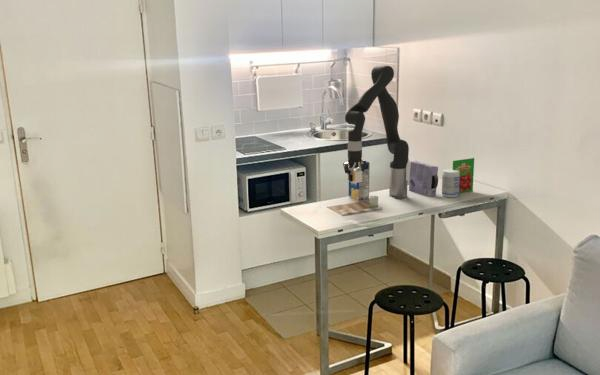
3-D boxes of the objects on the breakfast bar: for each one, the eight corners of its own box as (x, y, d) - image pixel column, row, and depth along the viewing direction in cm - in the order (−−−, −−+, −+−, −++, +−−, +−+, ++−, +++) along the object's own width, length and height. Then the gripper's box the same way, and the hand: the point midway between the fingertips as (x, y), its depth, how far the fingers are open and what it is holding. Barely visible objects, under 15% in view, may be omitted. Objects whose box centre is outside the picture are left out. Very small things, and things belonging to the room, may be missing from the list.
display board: (364, 203, 359) (364, 199, 358) (382, 211, 343) (382, 207, 343) (326, 209, 349) (326, 205, 348) (342, 217, 333) (342, 213, 333)
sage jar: (375, 206, 349) (375, 195, 347) (379, 208, 345) (379, 197, 343) (368, 207, 347) (368, 196, 345) (372, 209, 343) (372, 198, 341)
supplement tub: (457, 198, 364) (458, 173, 360) (440, 197, 367) (441, 172, 364) (459, 194, 373) (460, 169, 369) (443, 192, 376) (444, 168, 372)
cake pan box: (438, 196, 370) (439, 165, 366) (431, 197, 367) (433, 167, 363) (414, 189, 385) (415, 160, 381) (408, 190, 383) (409, 161, 378)
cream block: (362, 181, 344) (362, 170, 343) (355, 183, 342) (355, 172, 340) (354, 179, 350) (354, 168, 349) (347, 180, 348) (347, 169, 346)
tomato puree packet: (452, 195, 371) (453, 161, 366) (450, 194, 372) (452, 160, 367) (473, 191, 378) (474, 158, 373) (472, 191, 379) (473, 157, 374)
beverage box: (358, 202, 360) (358, 163, 354) (348, 197, 370) (348, 160, 364) (369, 200, 363) (369, 162, 357) (358, 196, 372) (359, 158, 367)
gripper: (361, 146, 348) (361, 177, 353) (339, 149, 341) (339, 181, 345) (370, 148, 342) (369, 180, 346) (347, 151, 335) (347, 183, 339)
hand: (354, 180), depth 346 cm, fingers closed on cream block, 4 cm apart
